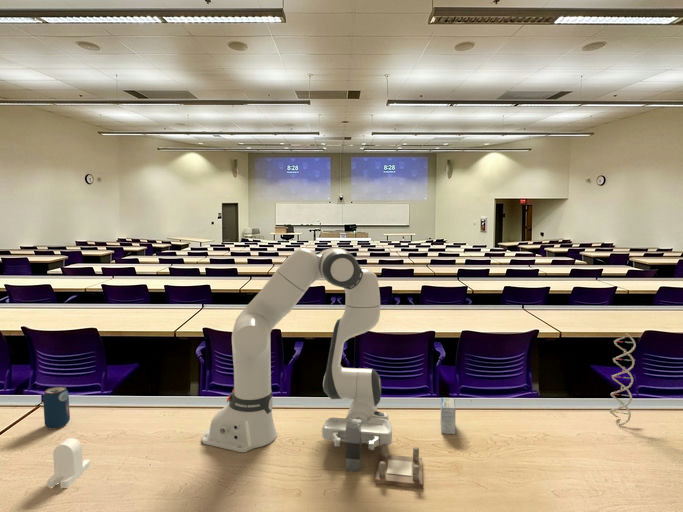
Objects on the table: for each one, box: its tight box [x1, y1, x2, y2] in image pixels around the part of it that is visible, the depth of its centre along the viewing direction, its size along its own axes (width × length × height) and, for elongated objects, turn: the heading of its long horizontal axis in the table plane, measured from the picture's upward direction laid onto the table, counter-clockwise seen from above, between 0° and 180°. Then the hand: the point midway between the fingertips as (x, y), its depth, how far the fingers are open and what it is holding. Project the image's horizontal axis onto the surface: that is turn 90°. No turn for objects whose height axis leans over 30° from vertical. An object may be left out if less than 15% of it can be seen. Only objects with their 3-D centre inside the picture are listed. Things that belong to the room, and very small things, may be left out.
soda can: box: [42, 385, 71, 429], centre depth 141 cm, size 7×7×12 cm
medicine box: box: [440, 397, 457, 435], centre depth 139 cm, size 8×4×9 cm, turn 168°
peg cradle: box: [374, 444, 424, 489], centre depth 115 cm, size 12×12×5 cm
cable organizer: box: [47, 437, 91, 489], centre depth 113 cm, size 5×10×10 cm, turn 178°
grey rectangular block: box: [345, 419, 362, 473], centre depth 117 cm, size 4×5×13 cm
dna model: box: [609, 332, 637, 426], centre depth 142 cm, size 7×6×30 cm
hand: (353, 445), depth 118 cm, fingers open, 8 cm apart
